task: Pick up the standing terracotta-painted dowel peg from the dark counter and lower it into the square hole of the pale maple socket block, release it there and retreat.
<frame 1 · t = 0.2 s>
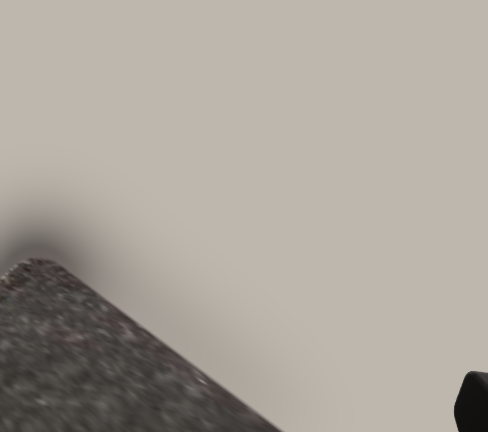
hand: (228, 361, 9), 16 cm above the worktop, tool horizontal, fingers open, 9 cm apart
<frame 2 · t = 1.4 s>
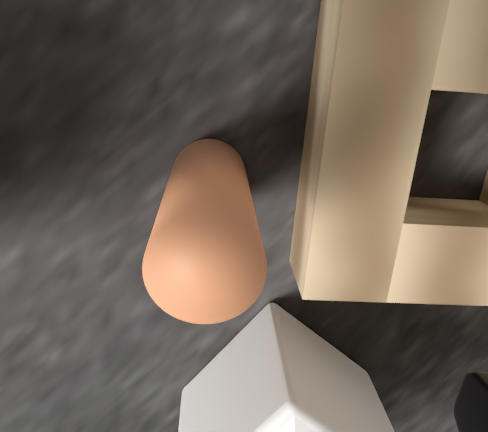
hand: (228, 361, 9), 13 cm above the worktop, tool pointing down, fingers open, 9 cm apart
peg: (209, 175, 20), on the worktop
socket block: (439, 143, 20), on the worktop
medicine bottle: (274, 377, 25), on the worktop
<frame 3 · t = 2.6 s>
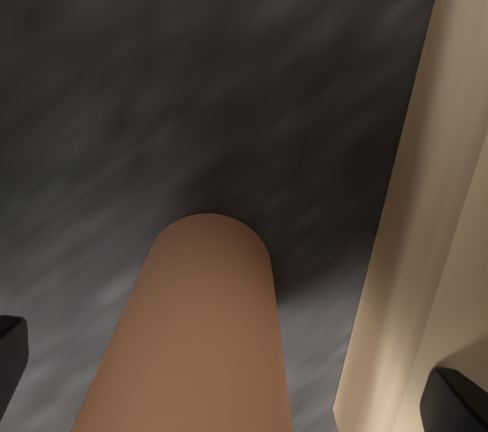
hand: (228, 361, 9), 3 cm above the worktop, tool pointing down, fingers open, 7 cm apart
peg: (209, 271, 12), on the worktop
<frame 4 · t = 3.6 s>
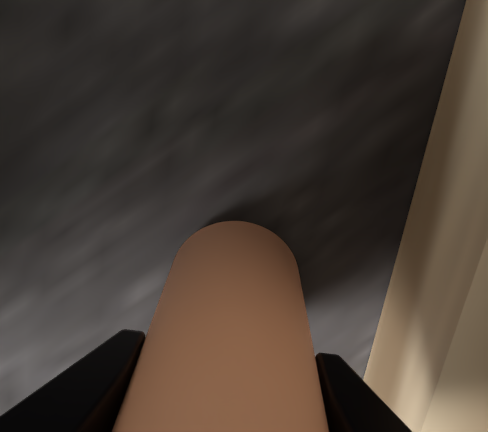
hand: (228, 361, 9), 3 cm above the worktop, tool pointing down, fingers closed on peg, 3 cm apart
peg: (235, 280, 12), on the worktop, touching gripper
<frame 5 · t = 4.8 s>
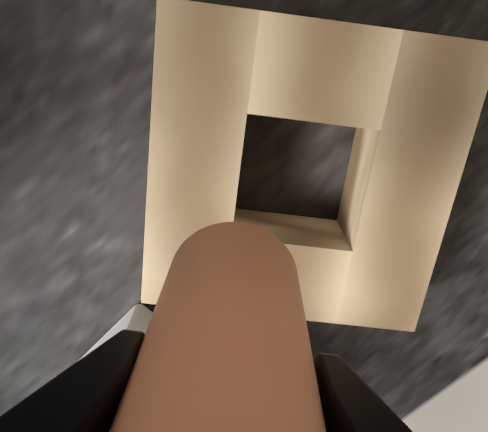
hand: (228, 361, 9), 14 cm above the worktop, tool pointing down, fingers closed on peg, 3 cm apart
peg: (233, 281, 12), point 11 cm above the worktop, touching gripper
socket block: (293, 163, 21), on the worktop
medicine bottle: (148, 375, 26), on the worktop
when the fingers open (5 cm above the worktop, at t = 6.7 s): peg drops 2 cm, on the worktop.
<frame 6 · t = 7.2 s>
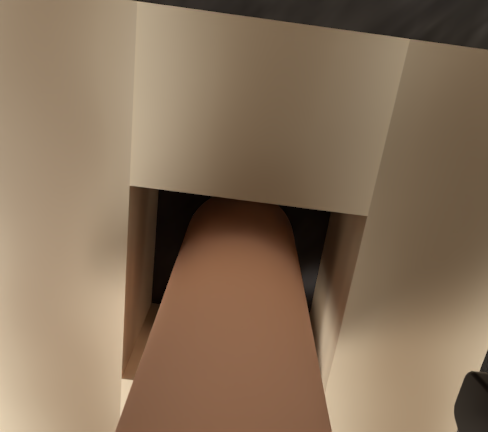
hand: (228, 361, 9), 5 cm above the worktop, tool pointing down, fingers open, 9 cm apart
peg: (240, 241, 14), on the worktop
socket block: (239, 241, 14), on the worktop
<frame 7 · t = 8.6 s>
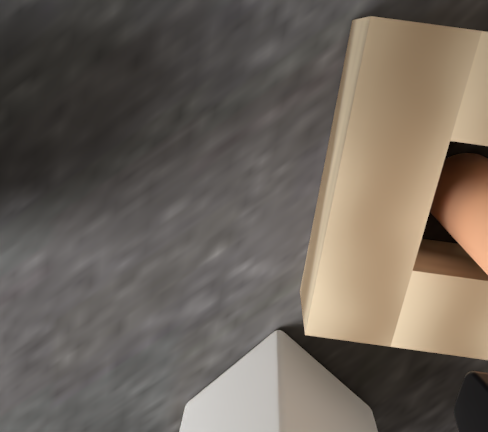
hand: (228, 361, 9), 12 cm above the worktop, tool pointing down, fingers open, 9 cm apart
peg: (461, 189, 20), on the worktop
socket block: (461, 189, 20), on the worktop
medicine bottle: (277, 402, 25), on the worktop
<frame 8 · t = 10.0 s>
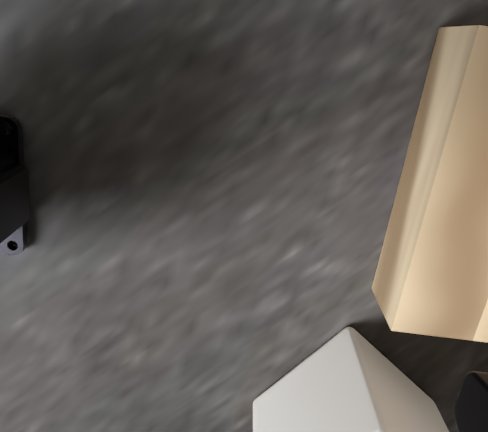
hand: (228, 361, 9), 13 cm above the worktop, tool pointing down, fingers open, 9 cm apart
medicine bottle: (341, 397, 26), on the worktop
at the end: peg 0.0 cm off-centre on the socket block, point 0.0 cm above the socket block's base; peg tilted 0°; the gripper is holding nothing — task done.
